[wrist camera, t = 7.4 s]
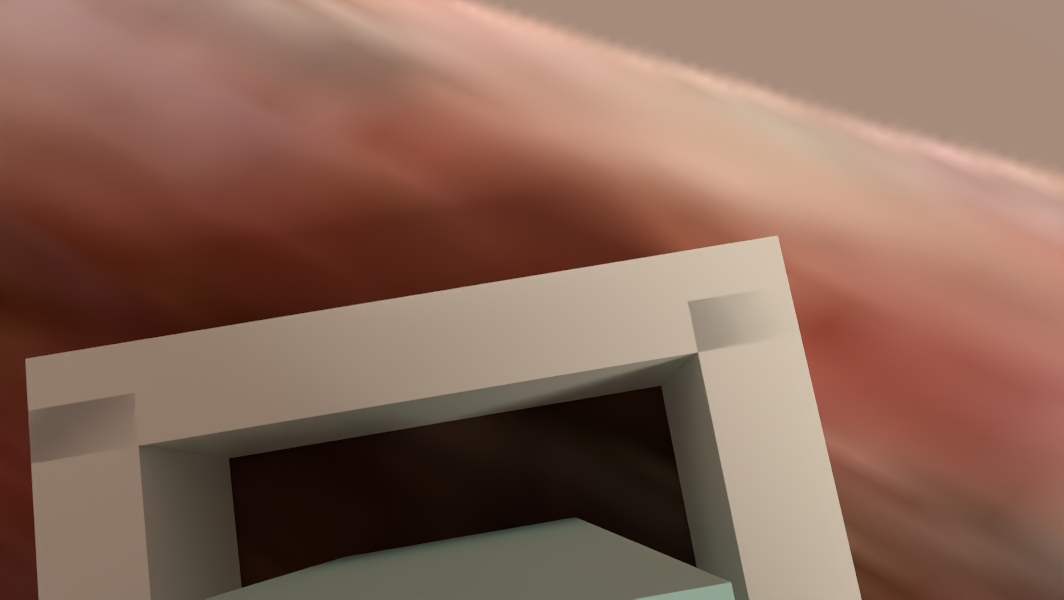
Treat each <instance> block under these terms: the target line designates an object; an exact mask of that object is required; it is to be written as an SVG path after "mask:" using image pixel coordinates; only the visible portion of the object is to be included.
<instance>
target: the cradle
mask: <svg viewBox="0 0 1064 600" xmlns="http://www.w3.org/2000/svg"><path fill="white" fill-rule="evenodd" d="M25 363H26V381H27V399H28V417H29V435H30V453H31V471H32V489H33V507H34V525H35V543H36V561H37V579H38V597H39V600H204V599H207V598H210V597H213V596H217V595H220V594H223V593H227V592H230V591H233V590H237V589H240V588H242V586H241V576H240V566H239V556H238V546H237V535H236V525H235V515H234V505H233V495H232V485H231V475H230V465H229V458H234V457H240V456H246V455H252V454H258V453H264V452H270V451H276V450H282V449H288V448H294V447H299V446H305V445H311V444H317V443H323V442H329V441H335V440H341V439H347V438H353V437H359V436H365V435H371V434H377V433H383V432H389V431H395V430H401V429H407V428H412V427H418V426H424V425H430V424H436V423H442V422H448V421H454V420H460V419H466V418H472V417H478V416H484V415H490V414H496V413H502V412H508V411H514V410H520V409H525V408H531V407H537V406H543V405H549V404H555V403H561V402H567V401H573V400H579V399H585V398H591V397H597V396H603V395H609V394H615V393H621V392H627V391H632V390H638V389H644V388H650V387H656V386H661V388H662V393H663V398H664V403H665V409H666V414H667V419H668V424H669V429H670V434H671V439H672V444H673V449H674V454H675V459H676V464H677V469H678V475H679V480H680V485H681V490H682V495H683V500H684V505H685V510H686V515H687V520H688V525H689V530H690V535H691V541H692V546H693V551H694V556H695V561H696V566H697V568H698V569H701V570H703V571H706V572H708V573H710V574H713V575H715V576H718V577H720V578H722V579H725V580H727V581H729V582H731V583H732V588H733V593H734V598H735V600H861V595H860V591H859V587H858V582H857V578H856V574H855V569H854V565H853V561H852V556H851V552H850V548H849V543H848V539H847V535H846V530H845V526H844V522H843V517H842V513H841V509H840V504H839V500H838V496H837V491H836V487H835V483H834V478H833V474H832V469H831V465H830V461H829V456H828V452H827V448H826V443H825V439H824V435H823V430H822V426H821V422H820V417H819V413H818V409H817V404H816V400H815V396H814V391H813V387H812V383H811V378H810V374H809V370H808V365H807V361H806V357H805V352H804V348H803V344H802V339H801V335H800V331H799V326H798V322H797V318H796V313H795V309H794V305H793V300H792V296H791V292H790V287H789V283H788V279H787V274H786V270H785V266H784V261H783V257H782V253H781V248H780V244H779V240H778V236H773V237H767V238H761V239H755V240H748V241H742V242H736V243H730V244H724V245H718V246H712V247H706V248H699V249H693V250H687V251H681V252H675V253H669V254H663V255H657V256H651V257H644V258H638V259H632V260H626V261H620V262H614V263H608V264H602V265H596V266H589V267H583V268H577V269H571V270H565V271H559V272H553V273H547V274H540V275H534V276H528V277H522V278H516V279H510V280H504V281H498V282H492V283H485V284H479V285H473V286H467V287H461V288H455V289H449V290H443V291H437V292H430V293H424V294H418V295H412V296H406V297H400V298H394V299H388V300H381V301H375V302H369V303H363V304H357V305H351V306H345V307H339V308H333V309H326V310H320V311H314V312H308V313H302V314H296V315H290V316H284V317H278V318H271V319H265V320H259V321H253V322H247V323H241V324H235V325H229V326H222V327H216V328H210V329H204V330H198V331H192V332H186V333H180V334H174V335H167V336H161V337H155V338H149V339H143V340H137V341H131V342H125V343H119V344H112V345H106V346H100V347H94V348H88V349H82V350H76V351H70V352H63V353H57V354H51V355H45V356H39V357H33V358H27V359H25Z"/></svg>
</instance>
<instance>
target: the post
mask: <svg viewBox="0 0 1064 600" xmlns="http://www.w3.org/2000/svg"><path fill="white" fill-rule="evenodd" d="M204 600H735V598H734V593H733V588H732V583H731V582H729V581H727V580H725V579H722V578H720V577H718V576H715V575H713V574H710V573H708V572H706V571H703V570H701V569H698V568H696V567H694V566H691V565H689V564H686V563H684V562H682V561H679V560H677V559H674V558H672V557H670V556H667V555H665V554H662V553H660V552H658V551H655V550H653V549H650V548H648V547H646V546H643V545H641V544H638V543H636V542H634V541H631V540H629V539H626V538H624V537H622V536H619V535H617V534H614V533H612V532H610V531H607V530H605V529H603V528H600V527H598V526H595V525H593V524H591V523H588V522H586V521H583V520H581V519H579V518H576V517H574V518H568V519H562V520H556V521H551V522H545V523H539V524H533V525H527V526H522V527H516V528H510V529H504V530H498V531H493V532H487V533H481V534H475V535H469V536H464V537H458V538H452V539H446V540H440V541H435V542H429V543H423V544H417V545H411V546H405V547H400V548H394V549H388V550H382V551H376V552H371V553H365V554H359V555H353V556H347V557H343V558H339V559H336V560H333V561H329V562H326V563H323V564H319V565H316V566H313V567H309V568H306V569H303V570H300V571H296V572H293V573H290V574H286V575H283V576H280V577H276V578H273V579H270V580H266V581H263V582H260V583H256V584H253V585H250V586H247V587H243V588H240V589H237V590H233V591H230V592H227V593H223V594H220V595H217V596H213V597H210V598H207V599H204Z"/></svg>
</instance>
